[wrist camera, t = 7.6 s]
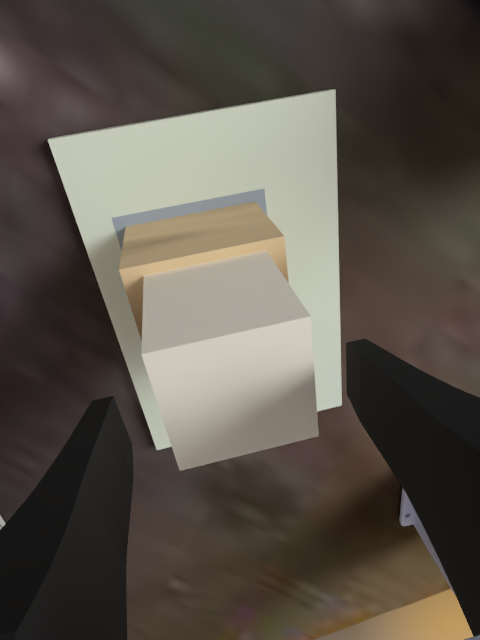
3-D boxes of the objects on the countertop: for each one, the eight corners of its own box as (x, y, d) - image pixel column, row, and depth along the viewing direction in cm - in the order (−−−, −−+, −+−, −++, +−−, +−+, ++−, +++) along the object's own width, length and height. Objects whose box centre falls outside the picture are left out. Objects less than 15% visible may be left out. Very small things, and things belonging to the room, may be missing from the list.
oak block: (268, 312, 23) (296, 366, 18) (157, 336, 22) (159, 398, 18) (254, 201, 19) (284, 235, 15) (125, 226, 19) (118, 269, 15)
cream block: (277, 349, 18) (318, 436, 13) (172, 374, 17) (179, 471, 13) (266, 250, 15) (310, 316, 11) (143, 275, 15) (141, 354, 11)
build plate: (338, 399, 28) (341, 405, 27) (156, 443, 27) (156, 450, 26) (330, 89, 18) (335, 89, 18) (50, 138, 17) (47, 139, 17)
